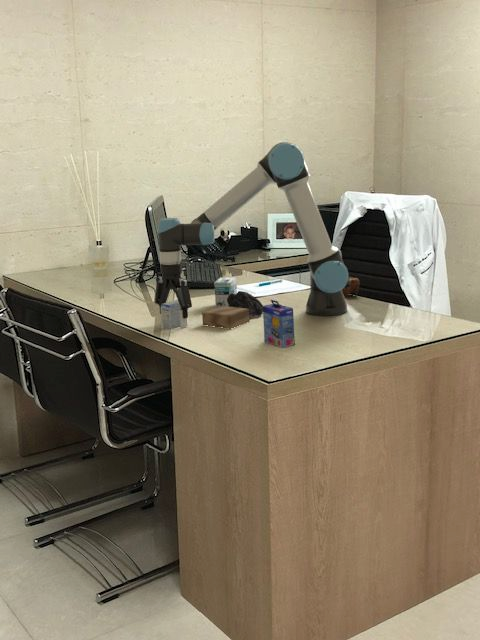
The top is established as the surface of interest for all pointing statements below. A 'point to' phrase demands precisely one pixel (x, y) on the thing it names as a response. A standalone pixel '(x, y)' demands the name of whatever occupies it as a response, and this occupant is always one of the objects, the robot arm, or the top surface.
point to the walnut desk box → (226, 317)
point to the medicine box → (171, 314)
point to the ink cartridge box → (278, 325)
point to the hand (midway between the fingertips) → (174, 325)
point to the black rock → (246, 303)
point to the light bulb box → (224, 290)
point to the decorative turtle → (351, 286)
